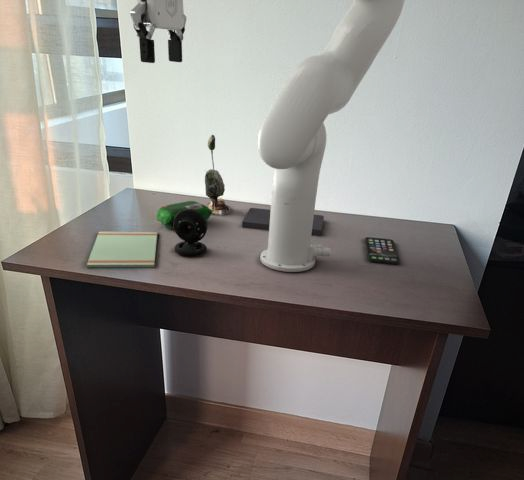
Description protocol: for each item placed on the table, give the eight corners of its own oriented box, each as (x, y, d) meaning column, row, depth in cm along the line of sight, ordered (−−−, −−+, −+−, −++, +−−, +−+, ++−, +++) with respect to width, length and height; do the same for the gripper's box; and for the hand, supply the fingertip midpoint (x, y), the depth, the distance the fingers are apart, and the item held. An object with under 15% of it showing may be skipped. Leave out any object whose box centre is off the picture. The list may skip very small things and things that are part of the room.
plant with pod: (195, 215, 135) (194, 138, 124) (209, 204, 144) (210, 131, 133) (223, 219, 134) (224, 142, 123) (235, 207, 143) (238, 135, 132)
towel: (157, 234, 121) (157, 231, 121) (154, 267, 104) (154, 264, 104) (99, 233, 119) (99, 231, 118) (86, 267, 102) (86, 264, 102)
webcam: (169, 255, 110) (167, 212, 105) (179, 243, 117) (178, 202, 111) (202, 259, 110) (202, 216, 104) (210, 247, 116) (211, 206, 110)
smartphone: (368, 259, 114) (364, 236, 126) (368, 261, 114) (364, 239, 127) (400, 262, 114) (393, 239, 126) (399, 265, 114) (392, 242, 126)
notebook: (242, 227, 129) (321, 235, 127) (242, 221, 128) (322, 230, 126) (249, 212, 140) (323, 220, 138) (250, 207, 139) (324, 215, 137)
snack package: (217, 222, 131) (217, 203, 128) (167, 233, 122) (166, 212, 119) (201, 215, 135) (201, 197, 132) (152, 225, 126) (151, 205, 123)
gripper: (145, -49, 85) (151, 64, 94) (198, -35, 98) (199, 63, 107) (111, -49, 87) (120, 61, 97) (167, -36, 101) (171, 60, 110)
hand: (162, 62), depth 102 cm, fingers open, 9 cm apart
